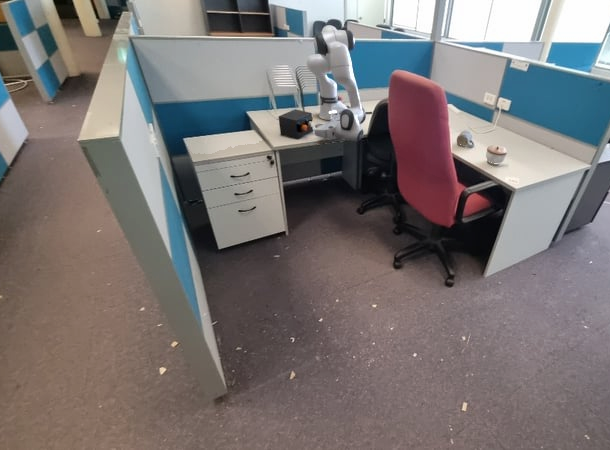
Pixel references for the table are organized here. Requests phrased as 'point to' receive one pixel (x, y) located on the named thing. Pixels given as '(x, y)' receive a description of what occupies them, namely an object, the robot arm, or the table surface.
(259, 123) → the table surface
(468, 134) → the grey rounded lump
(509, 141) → the table surface
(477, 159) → the table surface
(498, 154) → the trinket box
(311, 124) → the ivory button
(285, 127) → the toaster oven
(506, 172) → the table surface
